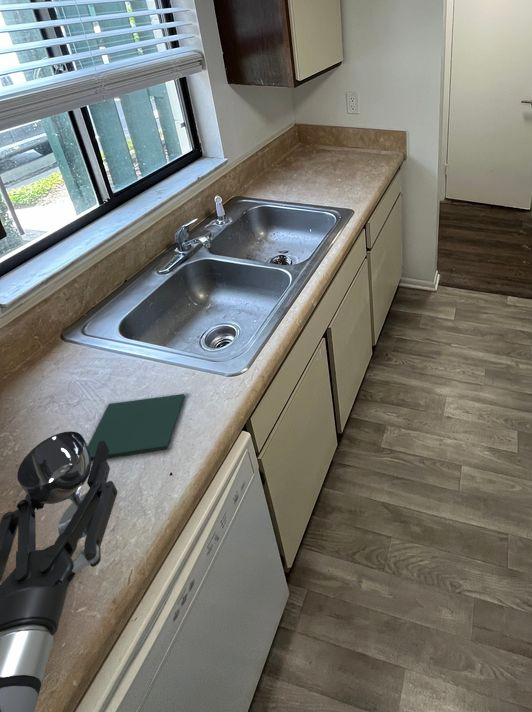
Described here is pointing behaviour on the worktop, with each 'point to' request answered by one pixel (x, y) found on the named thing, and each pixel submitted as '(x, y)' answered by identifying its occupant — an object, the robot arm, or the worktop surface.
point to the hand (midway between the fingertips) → (78, 453)
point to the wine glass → (57, 473)
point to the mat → (137, 426)
